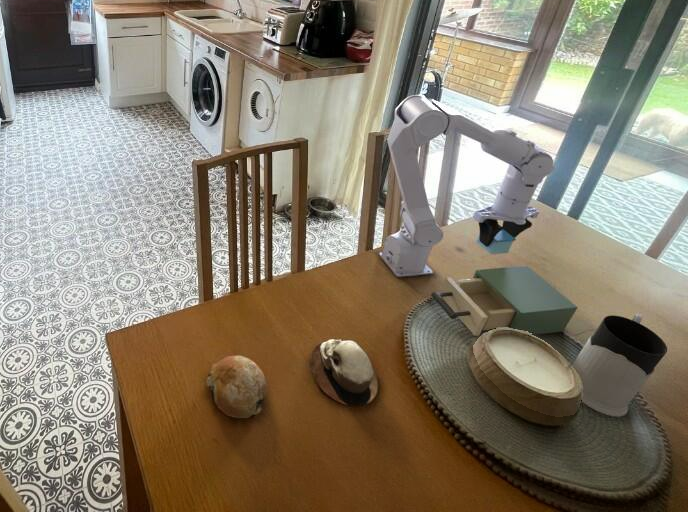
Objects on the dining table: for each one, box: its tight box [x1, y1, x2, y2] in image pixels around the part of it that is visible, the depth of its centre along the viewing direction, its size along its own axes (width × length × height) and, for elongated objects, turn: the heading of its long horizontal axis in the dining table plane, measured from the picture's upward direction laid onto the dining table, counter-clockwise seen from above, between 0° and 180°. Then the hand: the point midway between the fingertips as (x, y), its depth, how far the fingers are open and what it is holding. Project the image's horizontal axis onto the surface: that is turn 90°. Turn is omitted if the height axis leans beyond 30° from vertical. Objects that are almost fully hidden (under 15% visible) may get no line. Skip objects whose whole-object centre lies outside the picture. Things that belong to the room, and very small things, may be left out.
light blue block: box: [476, 229, 516, 255], centre depth 96 cm, size 5×5×4 cm
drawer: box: [431, 277, 517, 336], centre depth 87 cm, size 16×10×5 cm, turn 97°
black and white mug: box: [571, 313, 668, 417], centre depth 72 cm, size 9×14×15 cm, turn 126°
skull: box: [309, 338, 379, 407], centre depth 76 cm, size 12×10×10 cm
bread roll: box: [206, 354, 268, 419], centre depth 73 cm, size 10×10×8 cm
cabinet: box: [472, 265, 579, 336], centre depth 88 cm, size 13×12×7 cm
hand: (493, 242), depth 97 cm, fingers closed on light blue block, 4 cm apart
